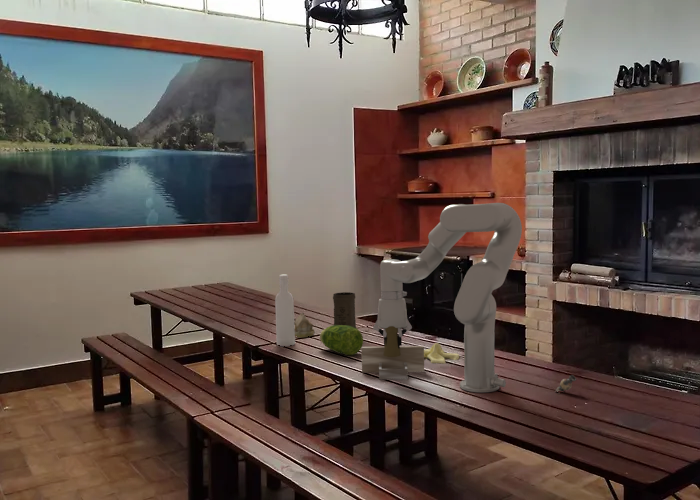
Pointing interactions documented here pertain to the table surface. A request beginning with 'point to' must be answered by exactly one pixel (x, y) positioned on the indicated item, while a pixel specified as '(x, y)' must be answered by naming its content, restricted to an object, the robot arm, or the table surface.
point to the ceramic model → (303, 326)
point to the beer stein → (344, 309)
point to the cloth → (439, 354)
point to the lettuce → (342, 339)
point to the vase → (566, 383)
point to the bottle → (284, 314)
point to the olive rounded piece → (391, 342)
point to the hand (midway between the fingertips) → (392, 347)
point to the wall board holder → (393, 362)
